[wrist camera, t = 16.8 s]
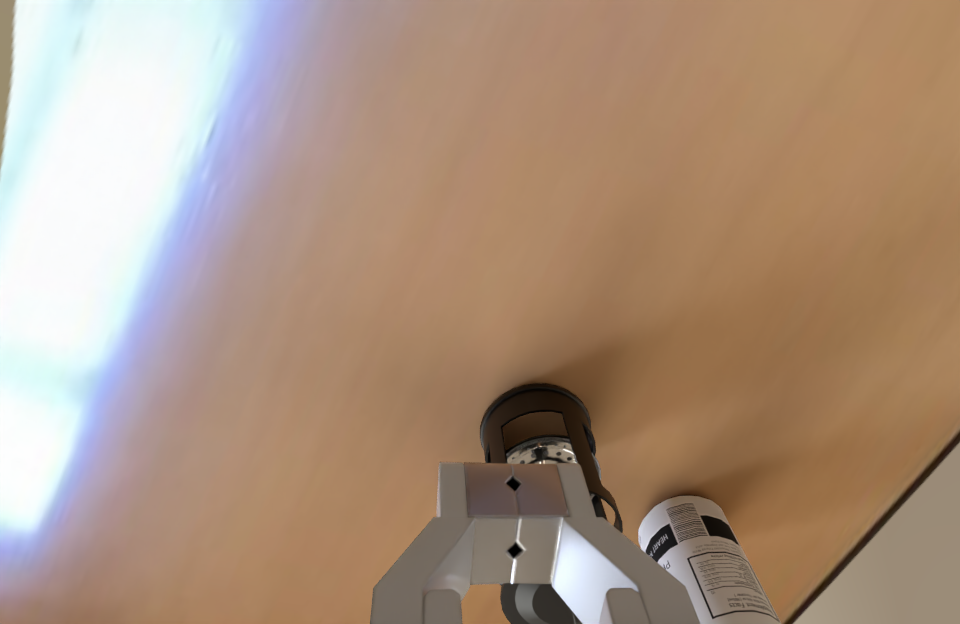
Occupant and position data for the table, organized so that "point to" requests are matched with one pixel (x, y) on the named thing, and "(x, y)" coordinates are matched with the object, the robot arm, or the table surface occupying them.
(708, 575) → the supplement can
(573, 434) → the french press
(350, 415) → the table surface
